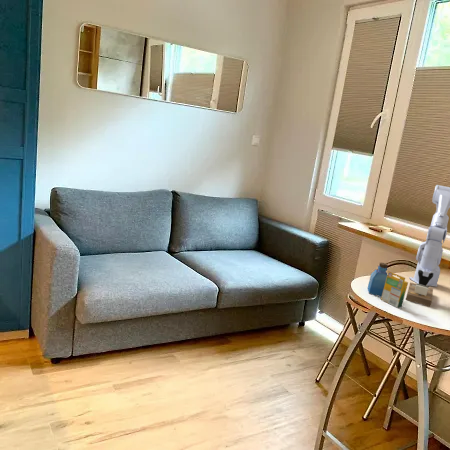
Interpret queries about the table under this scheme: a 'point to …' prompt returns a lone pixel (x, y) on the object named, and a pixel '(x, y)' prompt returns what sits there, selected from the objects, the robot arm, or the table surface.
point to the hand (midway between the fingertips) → (421, 289)
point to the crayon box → (394, 290)
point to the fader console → (419, 296)
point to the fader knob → (421, 289)
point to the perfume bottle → (378, 280)
